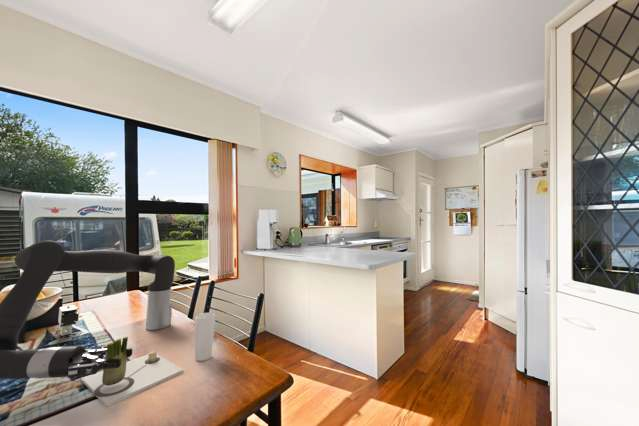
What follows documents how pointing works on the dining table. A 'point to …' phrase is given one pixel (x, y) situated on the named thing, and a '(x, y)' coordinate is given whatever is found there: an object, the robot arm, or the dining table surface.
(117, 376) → the fennel bulb
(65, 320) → the pneumatic valve
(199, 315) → the drinking glass
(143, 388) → the gauge board
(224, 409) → the dining table surface
